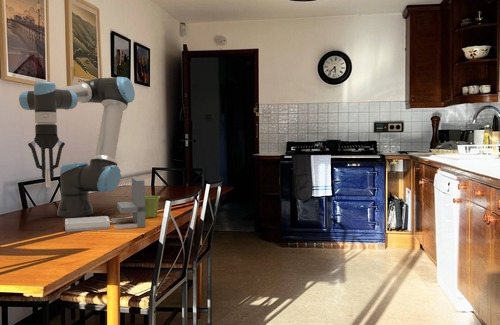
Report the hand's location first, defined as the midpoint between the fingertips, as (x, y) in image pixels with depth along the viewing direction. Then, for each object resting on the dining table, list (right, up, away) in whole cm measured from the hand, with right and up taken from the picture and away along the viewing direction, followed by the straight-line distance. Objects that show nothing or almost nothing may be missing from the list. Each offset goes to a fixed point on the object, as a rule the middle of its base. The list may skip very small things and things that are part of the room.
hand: (48, 187), depth 186 cm
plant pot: (+32, -15, +29) cm, 45 cm away
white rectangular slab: (+13, -16, +6) cm, 21 cm away
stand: (+27, -15, +11) cm, 33 cm away
